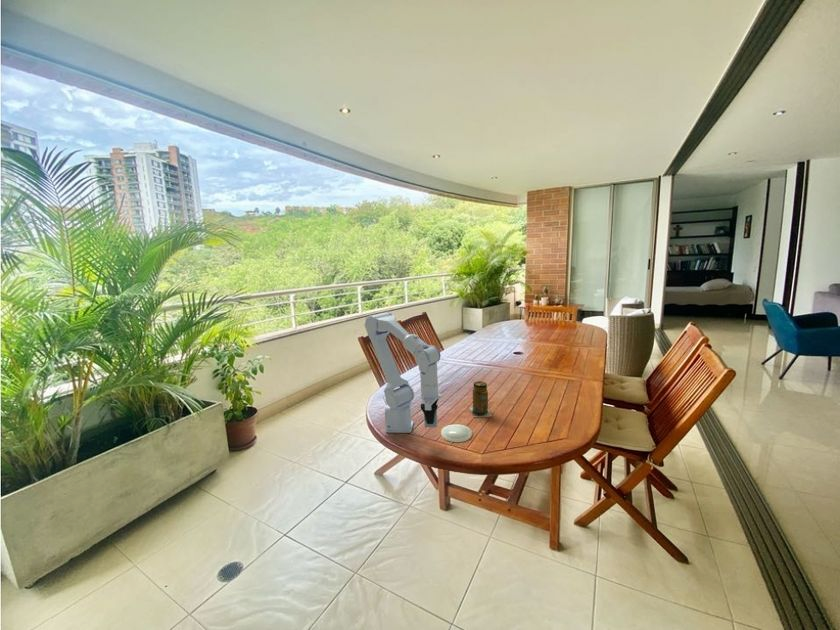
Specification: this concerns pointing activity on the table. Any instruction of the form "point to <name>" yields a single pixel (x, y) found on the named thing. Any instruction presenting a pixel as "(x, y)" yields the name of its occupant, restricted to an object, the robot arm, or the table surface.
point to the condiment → (480, 400)
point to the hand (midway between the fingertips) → (430, 420)
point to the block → (433, 423)
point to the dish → (456, 433)
